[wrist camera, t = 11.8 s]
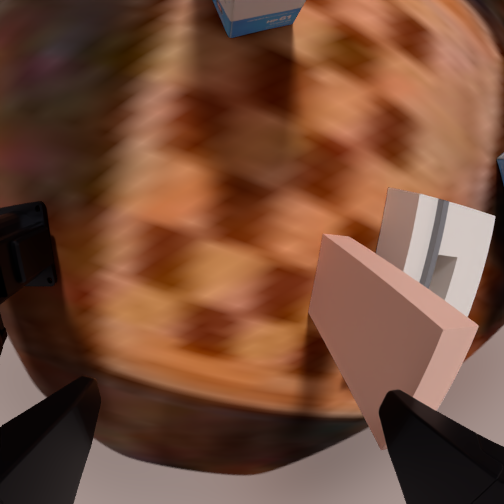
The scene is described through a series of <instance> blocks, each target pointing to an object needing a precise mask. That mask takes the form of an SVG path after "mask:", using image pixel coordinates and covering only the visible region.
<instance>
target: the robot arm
mask: <svg viewBox="0 0 504 504" xmlns="http://www.w3.org/2000/svg"><path fill="white" fill-rule="evenodd" d="M38 206H39V207H40V211H39V210H38ZM53 261H54V260H53V254H52V249H51V243H50V236H49V230H48V226H47V218H46V209H45V204H44V203H43V202H42V201H37V202H31V203H25V204H19V205H13V206H8V207H2V208H0V304H1V303H3V302H4V301H5V300H7V299H8V298H9V297H10V296H12V295H13V294H14V293H16V292H17V291H18V290H20V289H21V288H22V287H24V286H53V285H55V284H56V283H57V276H56V272H55V267H54V262H53ZM50 278H51V279H52V281H51V280H50ZM6 338H7V332H6V328H5V327H4V325H3V322H2V318H1V314H0V355H1V352H2V349H3V344H4V342H5V340H6ZM100 404H101V397H100V393H99V389H98V385H97V381H96V379H95V378H93V377H88V376H81V377H79V378H78V379H76V380H74V381H73V382H71V383H70V384H68V385H67V386H65V387H63V388H62V389H60V390H59V391H57V392H55V393H54V394H52V395H51V396H49V397H47V398H46V399H44V400H42V401H41V402H39V403H38V404H36V405H34V406H33V407H31V408H30V409H28V410H26V411H25V412H23V413H21V414H20V415H18V416H17V417H15V418H13V419H12V420H10V421H9V422H7V423H5V424H4V425H2V426H1V427H0V504H73V503H74V500H75V496H76V493H77V489H78V486H79V483H80V479H81V476H82V473H83V470H84V467H85V463H86V460H87V457H88V454H89V451H90V448H91V444H92V440H93V436H94V431H95V426H96V422H97V417H98V413H99V409H100ZM379 417H380V421H381V425H382V429H383V433H384V437H385V441H386V445H387V449H388V452H389V455H390V458H391V461H392V463H393V466H394V469H395V472H396V474H397V477H398V480H399V483H400V486H401V489H402V492H403V495H404V498H405V501H406V504H504V447H503V446H501V445H499V444H496V443H494V442H492V441H490V440H488V439H486V438H484V437H482V436H481V435H479V434H476V433H475V432H473V431H471V430H469V429H468V428H466V427H464V426H462V425H460V424H459V423H457V422H455V421H453V420H452V419H450V418H448V417H446V416H444V415H443V414H441V413H439V412H437V411H436V410H434V409H432V408H430V407H429V406H427V405H425V404H424V403H422V402H420V401H418V400H417V399H415V398H413V397H412V396H410V395H408V394H407V393H405V392H403V391H402V390H399V389H397V390H390V391H388V392H387V394H386V395H385V397H384V399H383V401H382V403H381V405H380V407H379Z"/></svg>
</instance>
